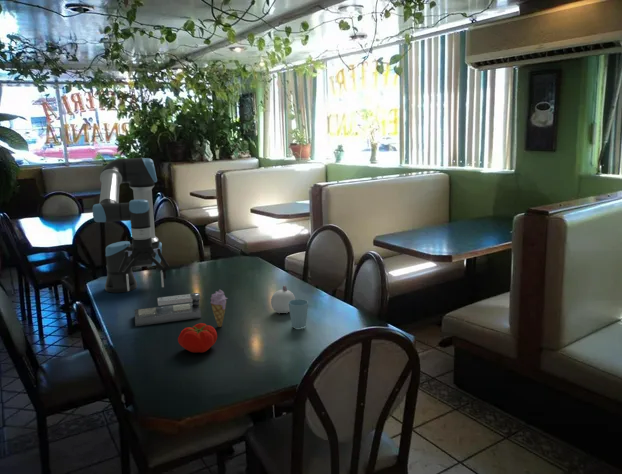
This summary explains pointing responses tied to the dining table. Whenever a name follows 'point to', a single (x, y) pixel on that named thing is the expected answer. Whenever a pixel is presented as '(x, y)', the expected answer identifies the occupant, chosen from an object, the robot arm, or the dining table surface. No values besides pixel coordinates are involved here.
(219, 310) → the ice cream cone
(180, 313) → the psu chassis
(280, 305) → the ornament
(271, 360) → the dining table surface
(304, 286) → the dining table surface
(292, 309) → the cup
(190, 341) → the tomato
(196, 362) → the dining table surface
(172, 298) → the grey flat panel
